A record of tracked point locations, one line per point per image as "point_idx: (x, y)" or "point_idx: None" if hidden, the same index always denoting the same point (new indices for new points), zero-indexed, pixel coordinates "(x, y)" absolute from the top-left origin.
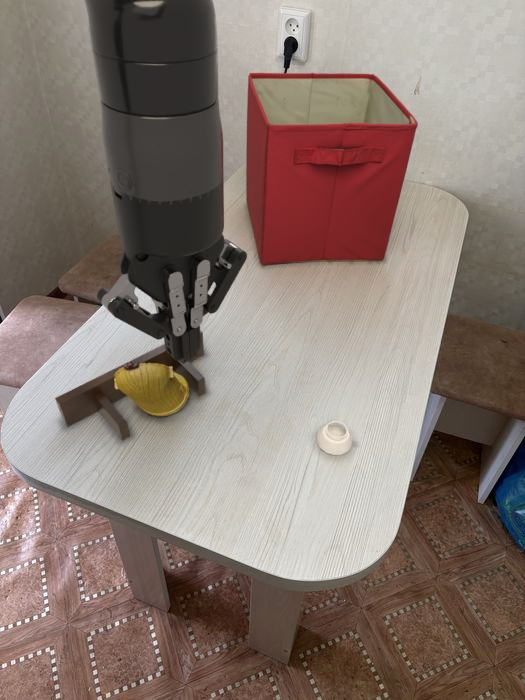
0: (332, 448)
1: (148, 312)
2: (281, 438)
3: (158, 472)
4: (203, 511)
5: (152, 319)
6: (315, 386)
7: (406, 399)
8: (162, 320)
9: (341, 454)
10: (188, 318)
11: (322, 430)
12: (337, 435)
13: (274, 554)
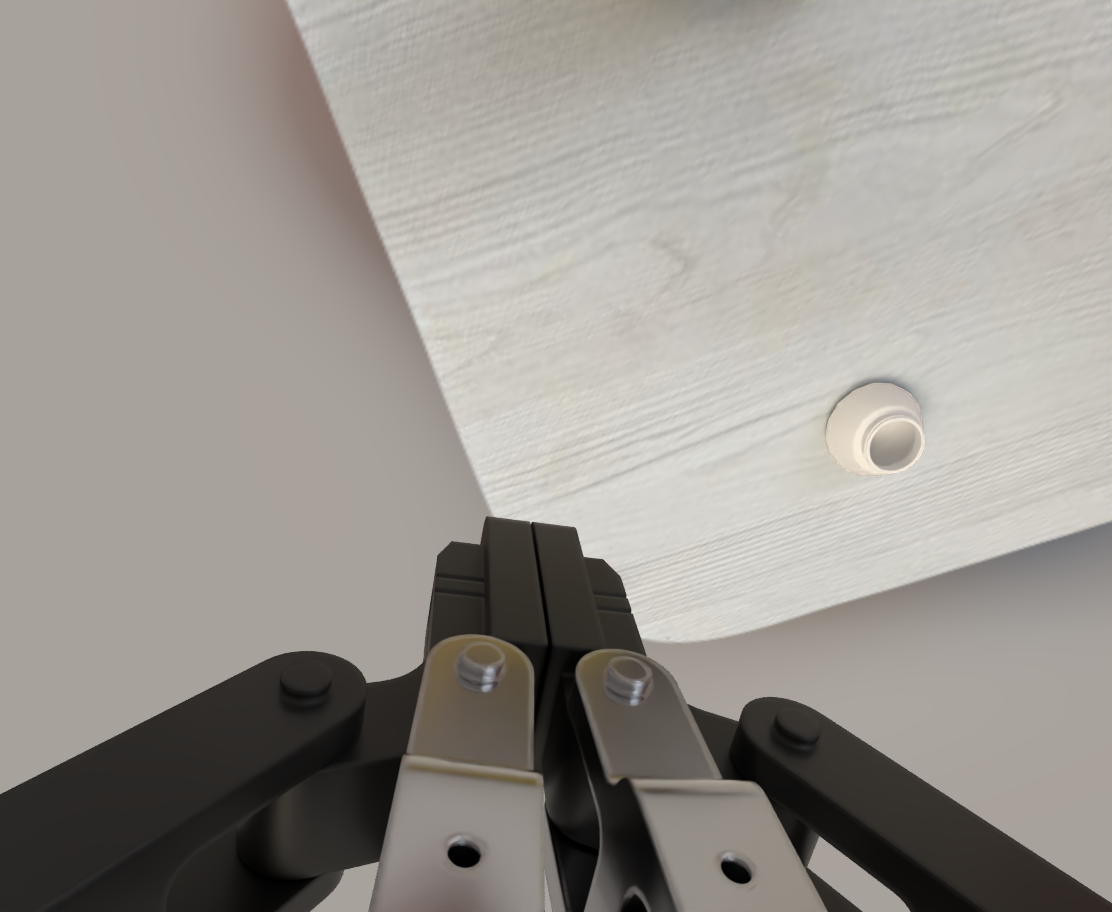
0: (840, 452)
1: (307, 774)
2: (801, 312)
3: (491, 110)
4: (491, 303)
5: None
6: (1029, 269)
7: (1100, 489)
8: (353, 850)
9: (841, 466)
10: (548, 843)
11: (876, 408)
12: (892, 423)
13: (522, 498)
